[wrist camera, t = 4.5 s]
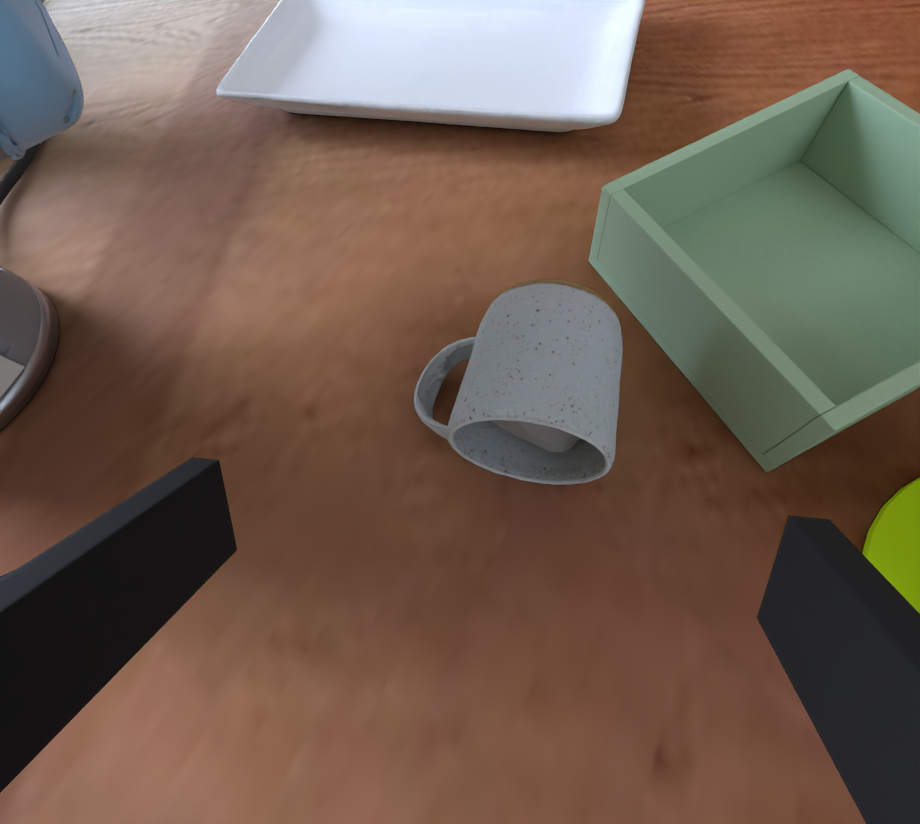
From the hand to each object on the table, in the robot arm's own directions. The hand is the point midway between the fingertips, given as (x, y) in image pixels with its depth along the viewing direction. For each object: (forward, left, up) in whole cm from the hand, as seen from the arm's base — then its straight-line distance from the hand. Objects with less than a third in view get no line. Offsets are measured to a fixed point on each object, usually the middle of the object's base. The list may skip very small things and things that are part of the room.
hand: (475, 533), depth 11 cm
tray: (-37, +14, -13) cm, 42 cm away
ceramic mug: (-7, +5, -13) cm, 16 cm away
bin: (-6, +22, -13) cm, 27 cm away
